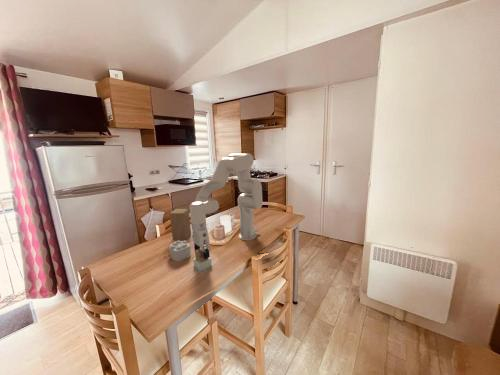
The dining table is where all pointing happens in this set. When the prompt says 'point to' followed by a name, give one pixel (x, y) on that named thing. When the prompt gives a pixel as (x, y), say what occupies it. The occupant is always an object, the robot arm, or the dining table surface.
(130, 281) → the dining table surface
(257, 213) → the dining table surface
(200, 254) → the walnut cube
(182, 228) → the wooden block
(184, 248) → the lumpy-topped squat cylinder
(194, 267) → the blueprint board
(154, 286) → the dining table surface
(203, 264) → the base block
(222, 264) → the dining table surface
